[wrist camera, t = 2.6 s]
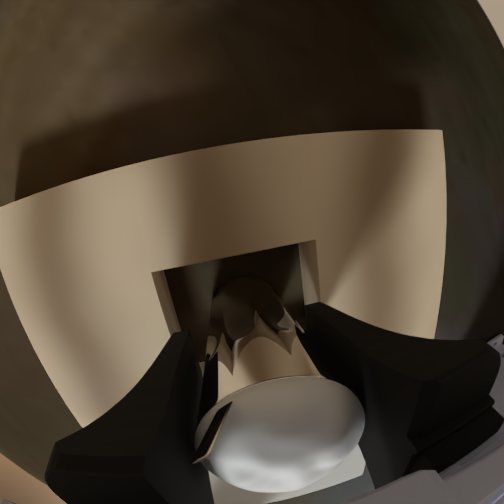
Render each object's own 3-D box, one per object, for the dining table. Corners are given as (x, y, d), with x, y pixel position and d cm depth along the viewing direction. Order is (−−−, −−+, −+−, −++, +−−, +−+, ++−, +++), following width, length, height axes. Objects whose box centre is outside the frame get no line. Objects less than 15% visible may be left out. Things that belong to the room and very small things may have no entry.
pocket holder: (410, 131, 13) (442, 130, 11) (405, 355, 18) (425, 376, 15) (14, 203, 11) (-15, 213, 9) (106, 421, 15) (99, 450, 13)
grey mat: (376, 395, 18) (378, 399, 18) (360, 471, 22) (362, 474, 22) (150, 446, 17) (150, 451, 16) (198, 509, 20) (199, 513, 20)
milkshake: (241, 227, 13) (319, 391, 4) (309, 308, 15) (412, 471, 5) (165, 291, 14) (121, 490, 4) (239, 360, 15) (275, 538, 6)
